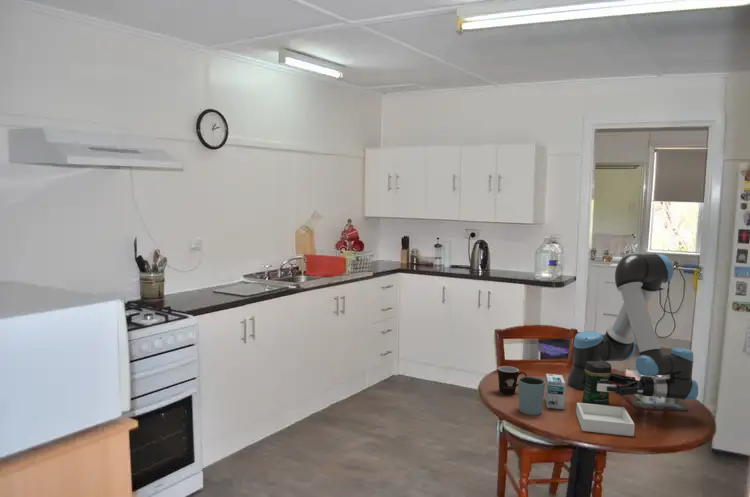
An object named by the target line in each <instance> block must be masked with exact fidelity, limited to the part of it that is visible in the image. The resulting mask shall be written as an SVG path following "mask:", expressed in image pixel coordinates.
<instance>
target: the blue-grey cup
mask: <svg viewBox="0 0 750 497" xmlns="http://www.w3.org/2000/svg"><path fill="white" fill-rule="evenodd" d="M517 384H518V386H517V387H518V410H519V411H520V412H521V413H523V414H525V415H530V416H537V415H541V414H542V412H543V405H544V398H545V389H546V380H544V379H542V378H539V377H536V376H527V377H525V376H520V377H518V378H517Z"/></svg>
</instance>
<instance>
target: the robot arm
mask: <svg viewBox="0 0 750 497" xmlns="http://www.w3.org/2000/svg"><path fill="white" fill-rule="evenodd" d="M673 276H674V266H673V262H672V261H671V260H670V258H668V256H666V255H664V254H660V253H659V254H658V253H651V254H649V253H645V254H643V253H629V254H628V255H625V256H624V257H622V258H621V259H620V261H619V262H618V263H617V265H616V267H615V272H614V282H615V286H616V289H617V291H618V292H620V293H621V296H622V300H623V303H622V305H621V307H620V310H619V312H618V313H617V316H616V318H615V321H614V323H613V324H612V325H610V326H609V327H607V329H606V332H605V333H604V334H602V332H599V331H594V330H593V331H590V330H589V331H587V330H586V331H580V332H578V333H576V334H575V337H574V338H573V339H574V342H573V355H572V356H573V357H572V367H571V369H570V372H569V375H568V377H567V385H569V386H570V387H572V388H574V389H578V390H581V391H582V390H583V391H584V388H585V382H586V373H585V366H586V362H587V361H606V362H622V361H627V360H630V359H631V358H633V356H634V355H635V353H636V347H637V350H638V354H639V356H638V357H636V359H635V368H636V371H637V372H638V373H639V374H640V375H642V376H640V379H639V380H637V379H636V376H635V377H634V376H629V375H628V376H627V375H622V374H617V373H613V372H611V376H610V378H609V384H597V391H603V392H609V393H616V394H618V395H619V396H631V395H632V396H633V395H641V396H642V397H649V398H650V397H654V398H658V399H662V398H665V399H674V400H682V401H695V400H696V399H698V396H699V385H698V382H697V381H696V380H694V379H692V378H693V366H694V352H693V350H691V349H689V348H686V347H680V346H679V347H678V346H677V347H672V348H671V350H670V354H669V353H668V354H662V351H661V348H660V345H659V344H660V343H659V341H658V338H657V335H656V332H655V329H654V326H653V321H652V319H651V314H650V313H649V312H650V311H649V308H648V304H649V302H650V299H651V297H652V296H653V293H656V292H658V291H659V290H660V288H661V286H662V285H663V284H666V283H669V282H670V281H671V280H672V278H673ZM665 375H669V377H659V376H665ZM611 382H613V383H616V384H610V383H611Z"/></svg>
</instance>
